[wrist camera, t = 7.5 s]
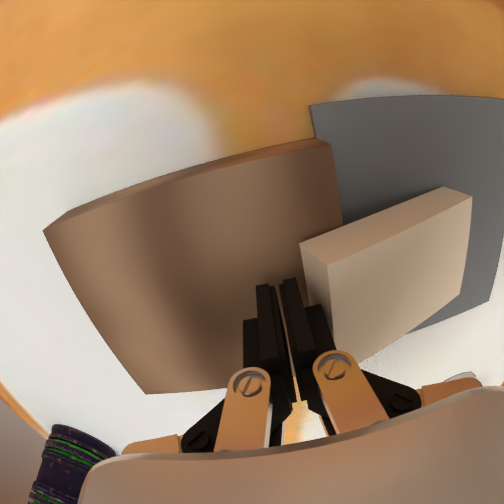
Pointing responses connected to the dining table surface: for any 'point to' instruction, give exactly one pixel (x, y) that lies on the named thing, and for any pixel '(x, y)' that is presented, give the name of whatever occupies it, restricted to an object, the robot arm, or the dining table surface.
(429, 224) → the cream tile
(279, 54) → the dining table surface
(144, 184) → the walnut board
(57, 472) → the storage jar
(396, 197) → the slate mat
